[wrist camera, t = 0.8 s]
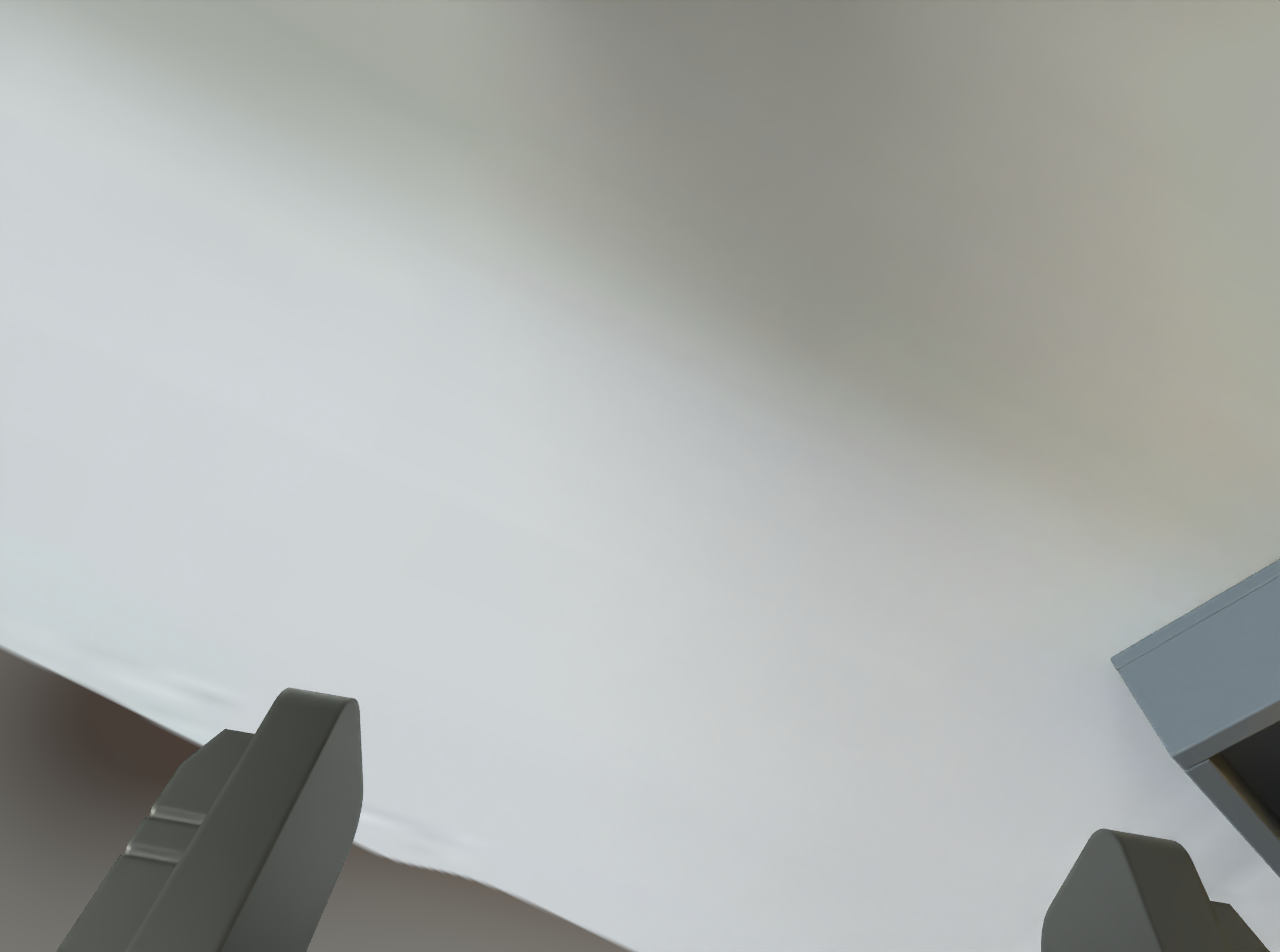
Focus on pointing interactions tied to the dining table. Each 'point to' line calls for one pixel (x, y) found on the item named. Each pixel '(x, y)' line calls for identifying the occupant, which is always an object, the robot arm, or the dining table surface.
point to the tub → (1221, 702)
